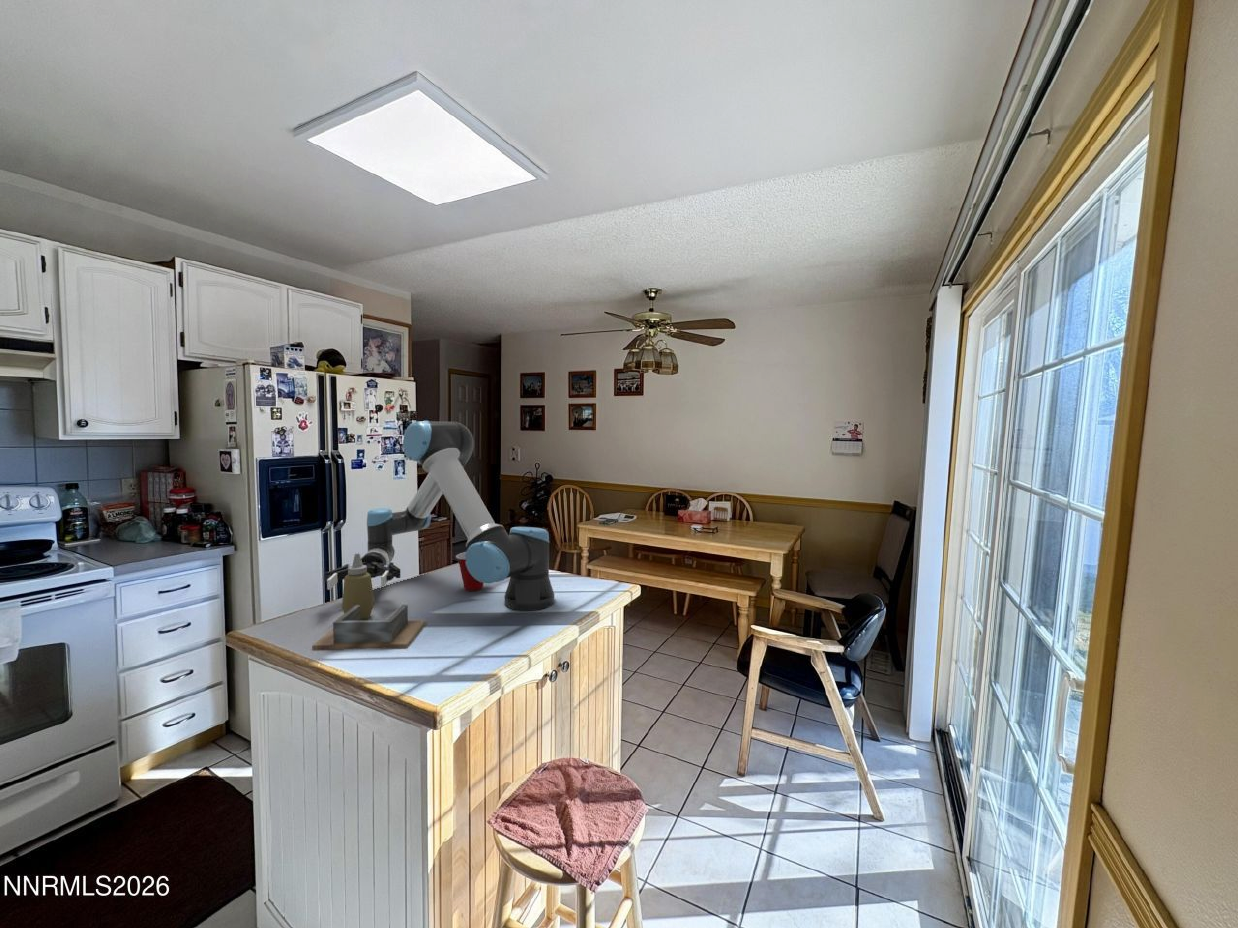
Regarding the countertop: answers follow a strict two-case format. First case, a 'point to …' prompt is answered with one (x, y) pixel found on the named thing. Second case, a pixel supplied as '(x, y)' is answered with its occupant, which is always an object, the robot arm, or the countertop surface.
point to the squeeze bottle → (358, 589)
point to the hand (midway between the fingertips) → (355, 583)
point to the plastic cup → (468, 575)
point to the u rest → (371, 631)
